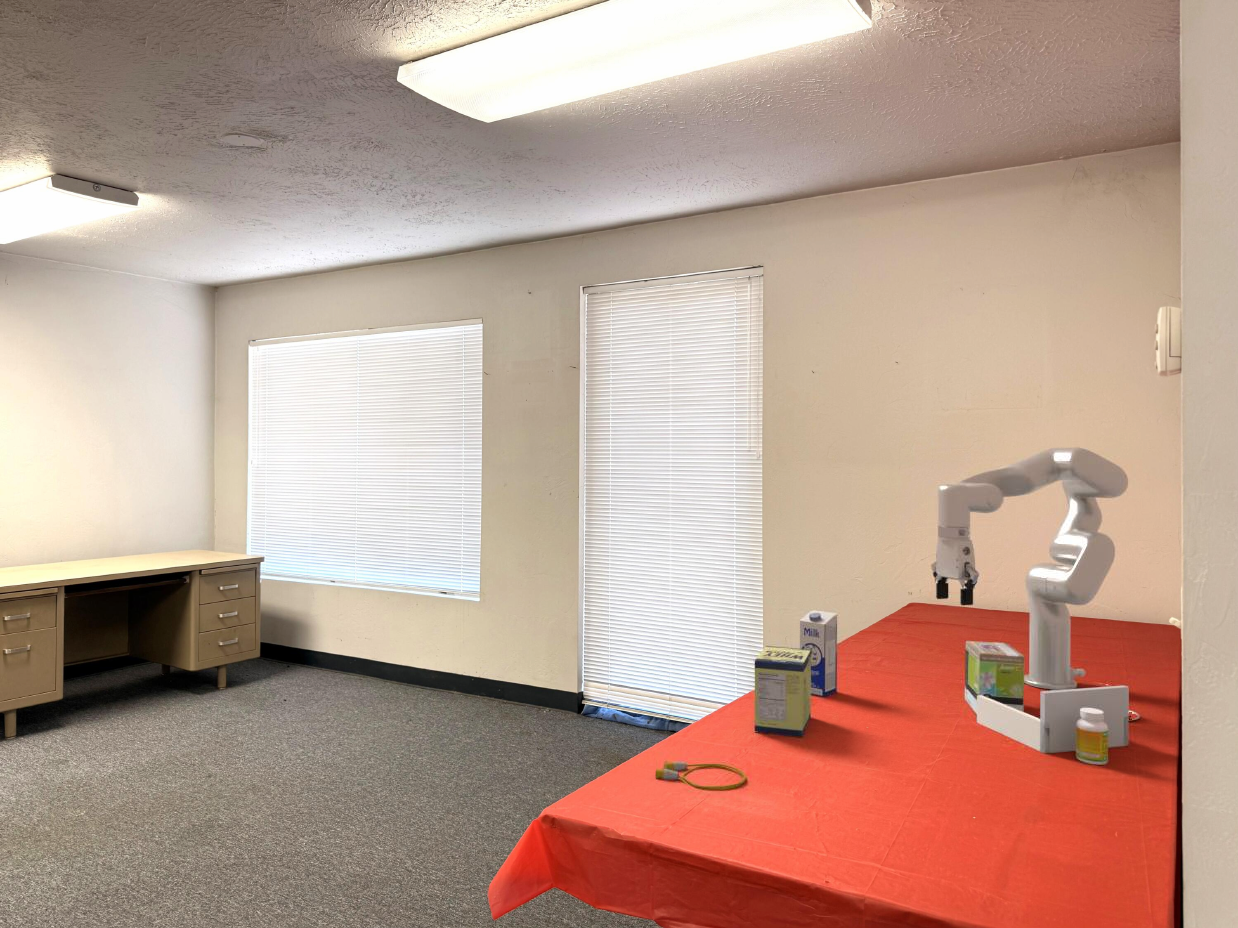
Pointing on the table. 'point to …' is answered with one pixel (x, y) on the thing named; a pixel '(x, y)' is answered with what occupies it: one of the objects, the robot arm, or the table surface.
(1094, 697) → the display bay
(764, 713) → the protein box
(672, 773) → the extension cord
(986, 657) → the tea box
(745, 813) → the table surface
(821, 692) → the milk carton
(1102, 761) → the supplement bottle
